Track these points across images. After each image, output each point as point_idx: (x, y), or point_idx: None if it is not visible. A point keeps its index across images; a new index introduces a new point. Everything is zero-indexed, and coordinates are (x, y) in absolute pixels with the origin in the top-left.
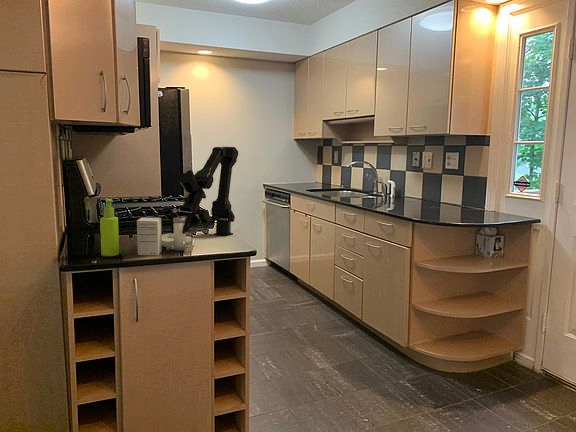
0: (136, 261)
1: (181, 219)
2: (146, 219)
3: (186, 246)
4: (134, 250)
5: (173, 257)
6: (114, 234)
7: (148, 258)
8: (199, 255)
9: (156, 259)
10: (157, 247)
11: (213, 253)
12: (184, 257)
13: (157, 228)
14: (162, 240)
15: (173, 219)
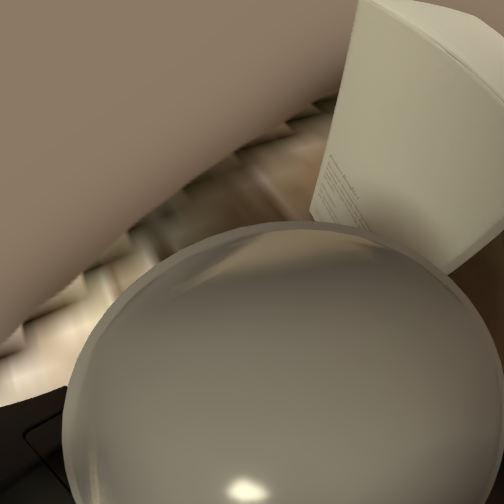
0: (315, 101)
1: (132, 301)
2: (486, 34)
3: None
4: (484, 259)
5: (194, 202)
6: None
7: (307, 145)
8: (70, 301)
9: (258, 142)
10: (319, 177)
11: (22, 374)
12: (134, 225)
13: (347, 59)
14: None
15: (425, 288)
